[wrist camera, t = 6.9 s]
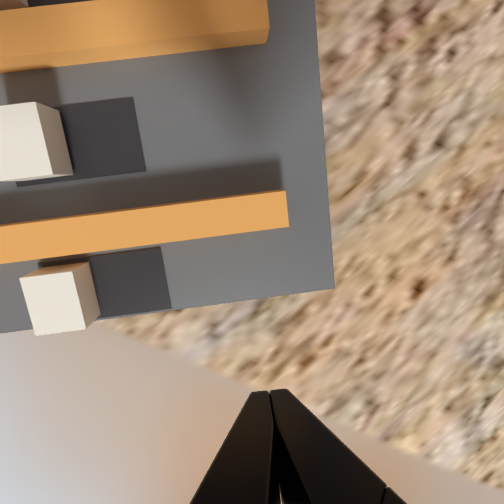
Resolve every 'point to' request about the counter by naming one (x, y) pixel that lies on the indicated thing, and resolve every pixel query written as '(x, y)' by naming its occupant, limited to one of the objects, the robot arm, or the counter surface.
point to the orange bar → (125, 30)
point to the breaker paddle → (32, 143)
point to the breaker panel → (176, 175)
